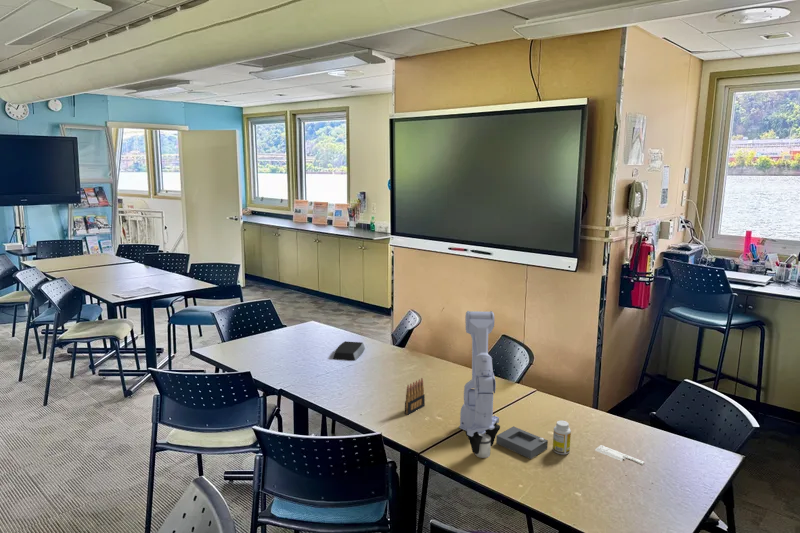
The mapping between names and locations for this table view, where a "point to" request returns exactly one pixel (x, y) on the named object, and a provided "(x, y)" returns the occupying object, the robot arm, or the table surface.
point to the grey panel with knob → (522, 442)
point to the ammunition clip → (414, 397)
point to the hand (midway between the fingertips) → (482, 448)
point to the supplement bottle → (561, 437)
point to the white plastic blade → (616, 454)
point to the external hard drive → (349, 351)
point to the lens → (484, 446)
